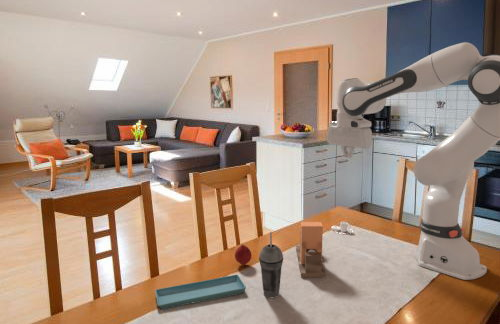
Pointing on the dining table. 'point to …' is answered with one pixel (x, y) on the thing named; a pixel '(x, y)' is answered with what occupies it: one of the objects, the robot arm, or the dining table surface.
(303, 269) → the pipe rig
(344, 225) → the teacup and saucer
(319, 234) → the orange angular piece
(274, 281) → the beverage cup
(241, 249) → the onion
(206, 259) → the dining table surface
